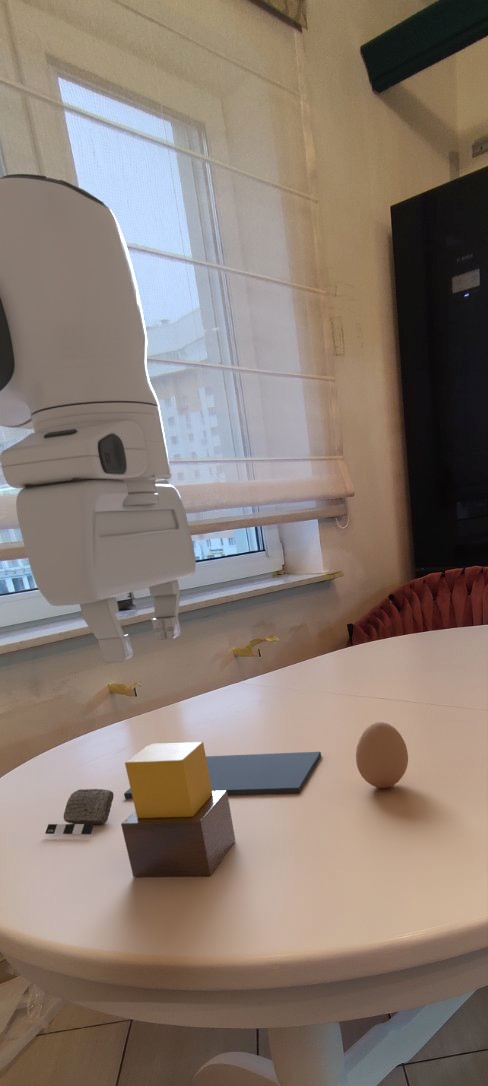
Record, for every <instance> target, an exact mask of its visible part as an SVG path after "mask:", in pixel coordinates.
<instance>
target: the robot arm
mask: <svg viewBox="0 0 488 1086" xmlns="http://www.w3.org/2000/svg"><path fill="white" fill-rule="evenodd" d="M127 246H128V245H127V243H126V240H125V238H124V235H123V232H122V230H121V228H120V224H119V222H118V220H117V218H116V217H115V214H114V212H113V211H112V210H111V208H110V207H109V206H107V205H106V204H105V202H104V201H103V200H101V199H100V198H98V197H97V196H96V195H94V194H92V193H90V192H89V191H87V190H85V189H83V188H81V187H79V186H77V185H75V184H72V183H70V182H68V181H66V180H63V179H58V178H57V179H56V178H52V177H48V176H46V175H41V174H33V173H14V174H6V175H3V176H2V177H0V427H4V428H12V429H23V430H24V429H25V430H33V431H34V432H31V433H29V434H28V435H26V437H24V438H23V439H21V440H20V441H18V442H16V443H15V444H12V445H11V446H9V447H6V448H5V449H4V450H2V451H1V453H0V466H1V471H2V474H3V477H4V480H5V482H6V484H7V485H8V486H9V487H11V488H14V489H20V490H19V491H18V493H17V495H16V501H15V509H16V510H15V511H16V516H17V517H16V518H17V522H18V527H19V531H20V535H21V539H22V541H23V546H24V550H25V553H26V557H27V561H28V563H29V567H30V571H31V573H32V577H33V580H34V583H35V585H36V587H37V589H38V591H39V592H40V594H41V595H42V596H43V598H44V599H45V600H46V601H47V603H48V604H49V605H50V606H53V607H62V606H63V607H64V606H76V605H79V607H80V612H81V616H82V619H83V620H84V622H85V623H86V625H87V626H88V628H89V629H90V631H91V633H92V634H93V636H94V637H95V639H96V640H97V641H98V646H99V650H100V654H101V658H102V660H103V662H104V663H106V664H119V663H123V662H125V661H127V660H129V659H131V658H132V657H133V655H134V649H133V647H132V639H131V635H130V634H125V633H124V630H123V628H122V625H121V624H120V623H121V622H120V621H119V619H118V616H117V614H119V611H120V610H119V609H120V608H119V605H118V600H117V597H118V596H122V595H126V594H131V593H133V592H137V591H140V590H144V589H149V594H150V595H149V596H150V597H151V598H152V597H153V607H154V608H153V610H154V618H152V619H151V624H152V628H153V634H154V638H155V639H156V640H158V641H164V640H168V641H169V640H172V639H175V638H177V637H179V636H180V635H181V626H180V622H179V609H180V598H181V591H180V585H179V580H181V579H184V578H188V577H192V576H194V575H195V572H196V565H197V564H196V562H197V559H196V553H195V548H194V542H193V538H192V534H191V531H190V526H189V521H188V517H187V513H186V509H185V506H184V503H183V500H182V497H181V494H180V492H179V491H178V489H177V488H176V487H175V486H173V485H171V484H170V482H169V479H171V478H172V476H173V475H172V470H171V469H172V468H171V464H170V458H169V453H168V447H167V442H166V437H165V432H164V431H165V430H164V426H163V420H162V414H161V408H160V404H159V400H158V398H157V397H158V396H157V395H156V393H155V390H154V388H153V386H152V384H151V381H150V377H149V373H148V367H147V348H148V337H147V330H146V324H145V320H144V314H143V313H144V312H143V308H142V303H141V299H140V298H141V297H140V294H139V289H138V284H137V280H136V276H135V272H134V268H133V264H132V260H131V258H130V254H129V249H128V247H127Z"/></svg>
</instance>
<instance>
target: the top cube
mask: <svg viewBox="0 0 488 1086" xmlns="http://www.w3.org/2000/svg"><path fill="white" fill-rule="evenodd" d="M124 766H125V771H126V774H127V779H128V784H129V789H130V788H131V793H132V797H133V798H132V801H133V805H134V811H136V815H137V818H167V817H193V816H194V815H195V814H196V813H197V812H198V810H199V809H200V808H201V807H202V806H203V805H204V804H205V803H206V801H207V800H208V799H209V798H210V797H211V796H212V789H211V783H210V778H209V772H208V766H207V761H206V751H205V745H204V741H183V742H163V743H162V742H161V743H149V744H148V745H146V746H145V747H143V749H141V750H140V751H139V752H137V753H136V754H135V755H133V756H132V757H130V758H128V760H126V761H125V763H124Z"/></svg>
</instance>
